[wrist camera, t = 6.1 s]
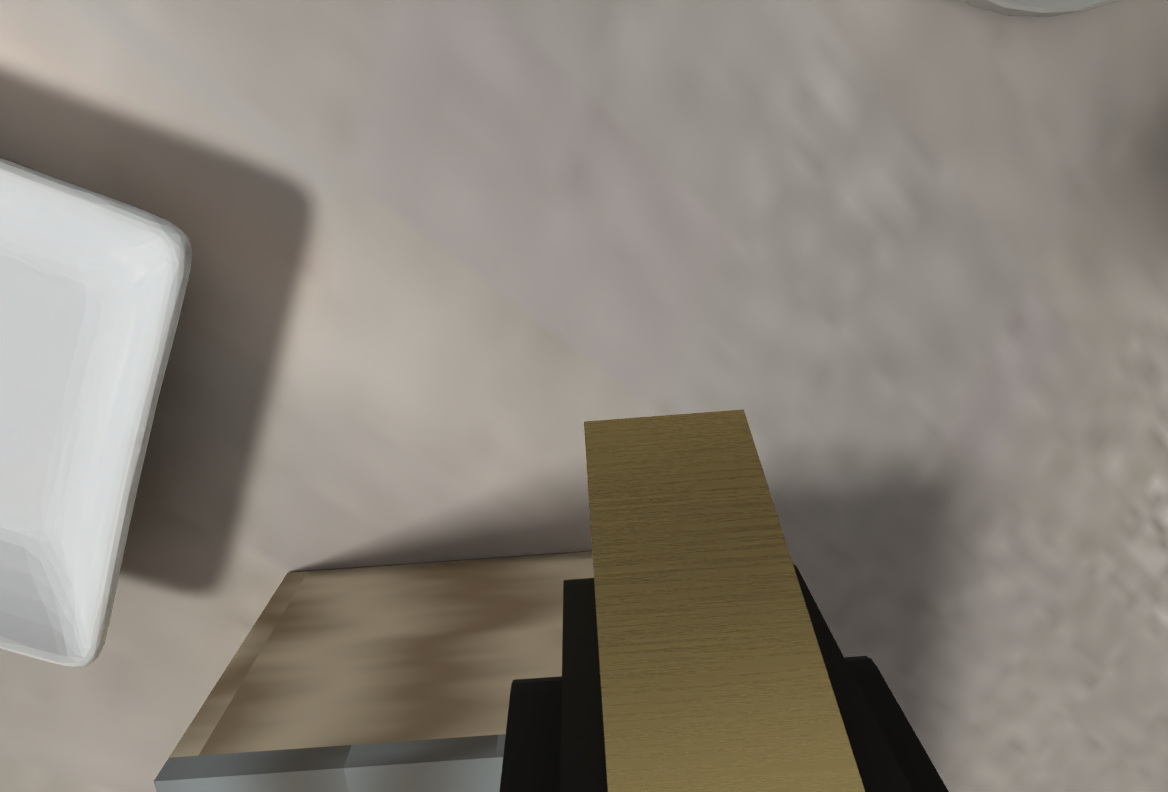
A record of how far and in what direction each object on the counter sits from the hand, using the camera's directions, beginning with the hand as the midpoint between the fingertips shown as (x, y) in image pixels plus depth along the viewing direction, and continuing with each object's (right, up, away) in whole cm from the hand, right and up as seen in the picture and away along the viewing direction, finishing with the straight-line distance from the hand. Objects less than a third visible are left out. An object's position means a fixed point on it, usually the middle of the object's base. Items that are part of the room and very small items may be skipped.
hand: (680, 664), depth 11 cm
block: (0, +2, +1) cm, 2 cm away
